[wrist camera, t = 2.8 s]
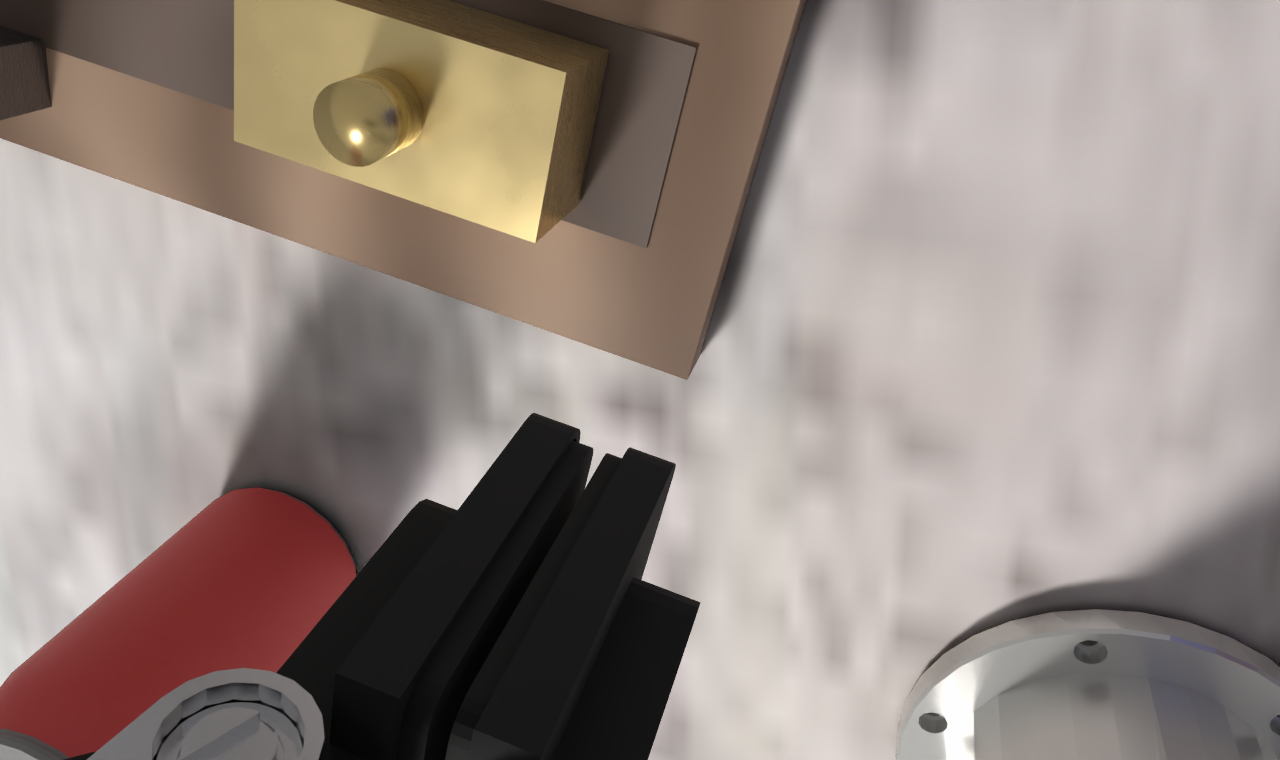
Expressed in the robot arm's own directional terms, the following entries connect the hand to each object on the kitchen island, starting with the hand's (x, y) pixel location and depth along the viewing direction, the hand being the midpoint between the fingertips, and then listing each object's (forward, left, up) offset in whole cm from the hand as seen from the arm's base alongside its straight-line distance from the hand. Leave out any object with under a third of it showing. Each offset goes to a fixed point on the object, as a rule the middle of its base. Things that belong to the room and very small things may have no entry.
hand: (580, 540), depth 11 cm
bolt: (+9, 0, -14) cm, 17 cm away
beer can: (+14, +20, -16) cm, 29 cm away
